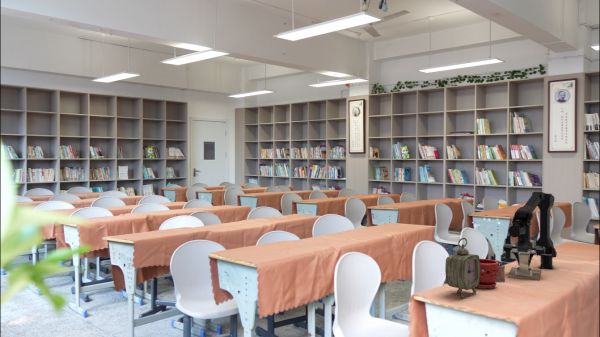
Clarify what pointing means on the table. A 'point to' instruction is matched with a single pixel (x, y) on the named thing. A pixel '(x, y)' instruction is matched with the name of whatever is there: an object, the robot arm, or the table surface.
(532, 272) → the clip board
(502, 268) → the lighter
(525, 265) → the peg
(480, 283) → the plant pot
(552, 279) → the table surface
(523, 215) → the robot arm
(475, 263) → the tabletop clock
